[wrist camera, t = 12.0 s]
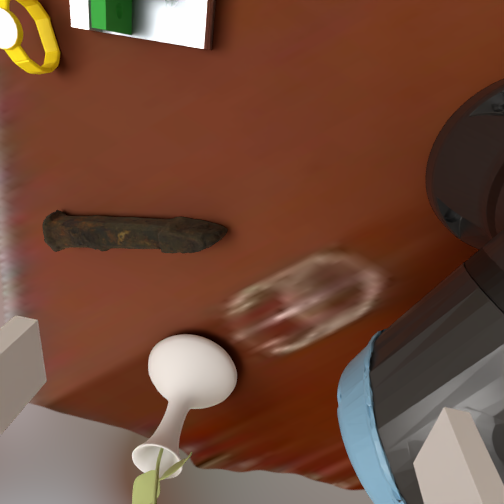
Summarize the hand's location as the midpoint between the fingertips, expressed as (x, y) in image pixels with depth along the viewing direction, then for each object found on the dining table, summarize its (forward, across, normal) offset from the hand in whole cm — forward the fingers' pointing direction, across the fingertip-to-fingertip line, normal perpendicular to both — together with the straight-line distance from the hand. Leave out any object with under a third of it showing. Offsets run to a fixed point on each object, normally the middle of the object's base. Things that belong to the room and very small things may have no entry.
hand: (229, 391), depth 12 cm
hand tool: (+27, +14, +7) cm, 31 cm away
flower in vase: (+27, +6, +25) cm, 37 cm away
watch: (+27, +23, -9) cm, 37 cm away
